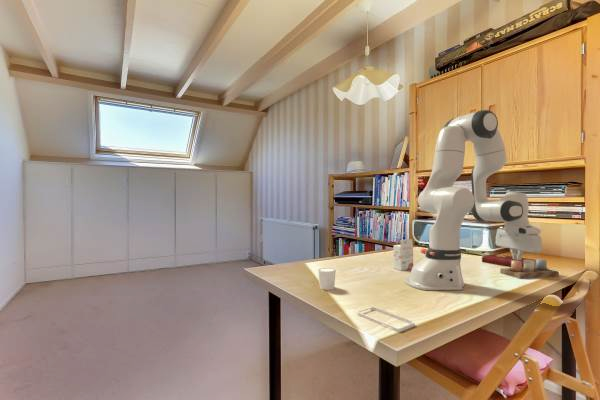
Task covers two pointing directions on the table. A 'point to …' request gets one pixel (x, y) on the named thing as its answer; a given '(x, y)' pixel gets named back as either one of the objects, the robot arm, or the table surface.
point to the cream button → (528, 265)
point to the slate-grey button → (541, 264)
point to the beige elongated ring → (388, 315)
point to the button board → (529, 273)
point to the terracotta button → (516, 266)
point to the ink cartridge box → (403, 255)
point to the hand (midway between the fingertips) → (517, 259)
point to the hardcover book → (502, 260)
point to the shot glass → (327, 278)
